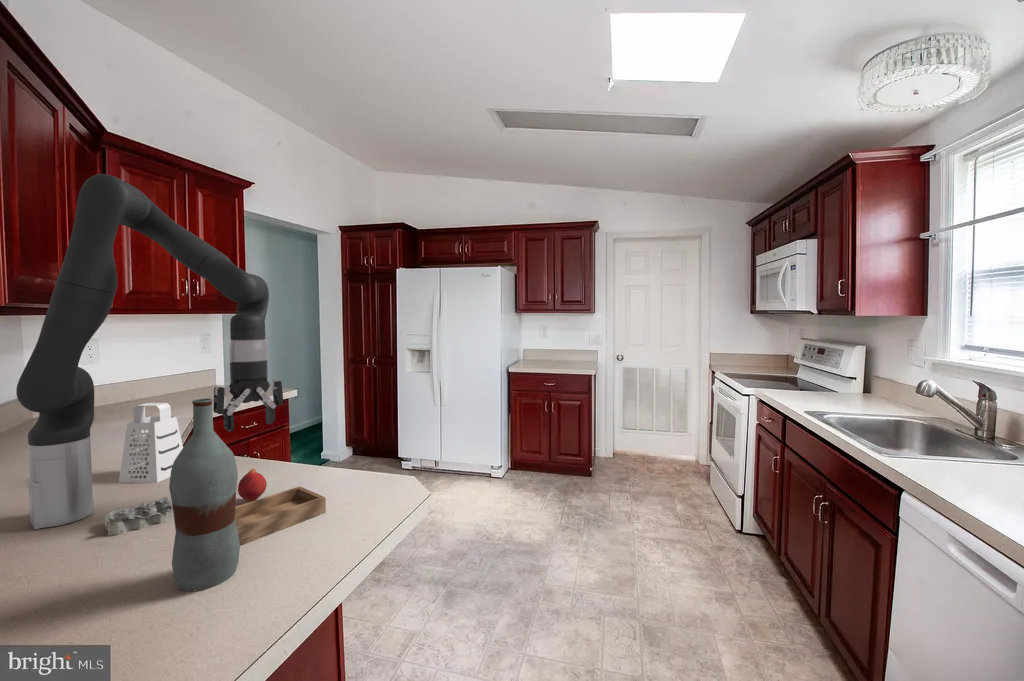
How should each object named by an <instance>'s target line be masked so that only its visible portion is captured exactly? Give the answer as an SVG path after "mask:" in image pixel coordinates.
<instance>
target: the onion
mask: <svg viewBox="0 0 1024 681" xmlns="http://www.w3.org/2000/svg"><path fill="white" fill-rule="evenodd" d="M256 470H257V469H256V468H255V467H253V468H251V469H250V470H249V471H247V473H246V474H244V476H243V477H241V479H240V480H239V483H238V484H237V492H238V493H237V494H238V495H239V496H240V497H241V498H242V499H243V500H245V501H248V502H252V501H255V500H258V499H260V497H261V496H263V494H264V493H265V492H266V489H267V486H268V485H267V480H266V478H265V477H264V475H262V474H261V473H259V472H256Z"/></svg>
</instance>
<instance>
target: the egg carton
mask: <svg viewBox="0 0 1024 681" xmlns="http://www.w3.org/2000/svg"><path fill="white" fill-rule="evenodd" d="M172 519H173V506H172V503H171V501H170V499H169V498H168V497H167V496H164V497H162V498H161V499H157V500H155V501H149V502H148V503H145V502H142V503H141V504H138V505H133V506H130V507H127V508H116V509H114V510H112V511H111V512H109V513H107V514H106V515H104V520H105V521H104V522H105V523H104V526H105V529H106V530H105V531H107V535H108V536H121V535H124V534H125V533H127V532H129V531H133V530H144V529H146V528H147V527H148V526H152V525H155V524H160V525H161V524H165V523H167V522H168V521H169V520H172Z"/></svg>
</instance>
